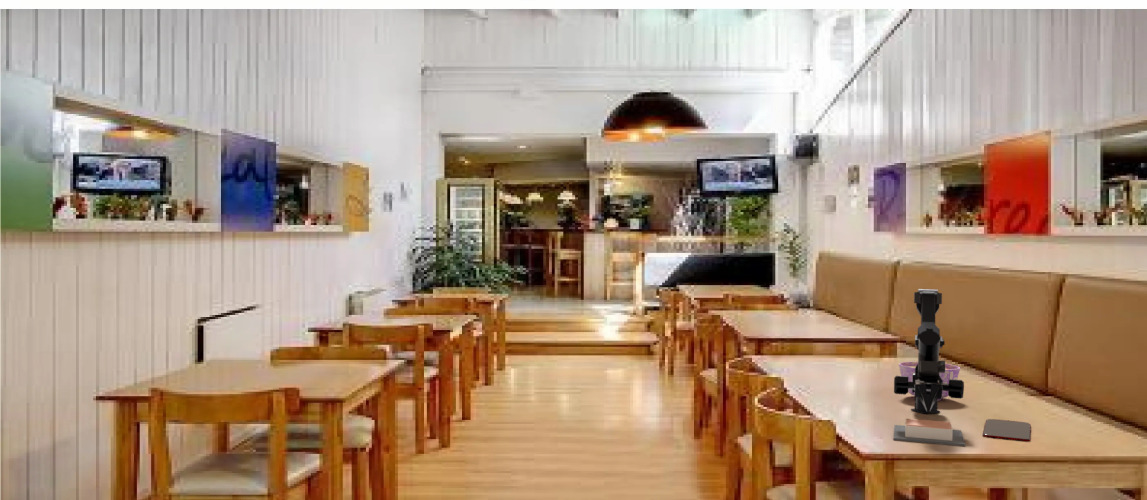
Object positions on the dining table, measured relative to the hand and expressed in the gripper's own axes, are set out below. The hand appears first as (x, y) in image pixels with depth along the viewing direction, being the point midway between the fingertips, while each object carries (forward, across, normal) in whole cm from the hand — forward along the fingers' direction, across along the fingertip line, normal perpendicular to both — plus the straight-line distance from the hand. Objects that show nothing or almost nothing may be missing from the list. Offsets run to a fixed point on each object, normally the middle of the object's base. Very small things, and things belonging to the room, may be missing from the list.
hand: (928, 411), depth 256 cm
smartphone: (-5, +22, +15) cm, 27 cm away
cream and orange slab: (+3, 0, +4) cm, 4 cm away
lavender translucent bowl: (-40, +1, +49) cm, 63 cm away
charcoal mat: (+7, 0, +3) cm, 7 cm away
